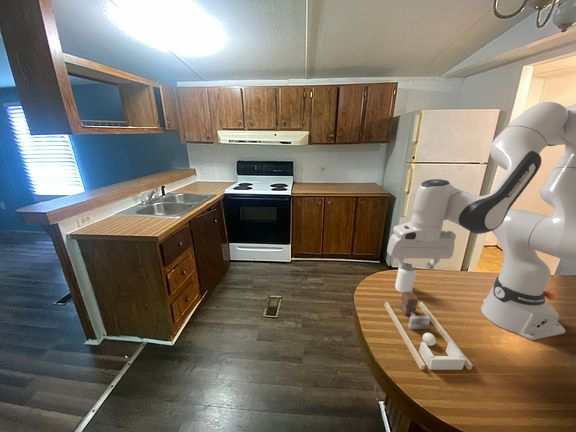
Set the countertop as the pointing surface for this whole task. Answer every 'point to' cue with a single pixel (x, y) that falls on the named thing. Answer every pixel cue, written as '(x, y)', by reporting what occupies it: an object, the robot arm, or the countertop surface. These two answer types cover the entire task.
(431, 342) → the ball
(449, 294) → the countertop surface
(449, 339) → the pitch
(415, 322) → the block
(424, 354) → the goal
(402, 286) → the can
